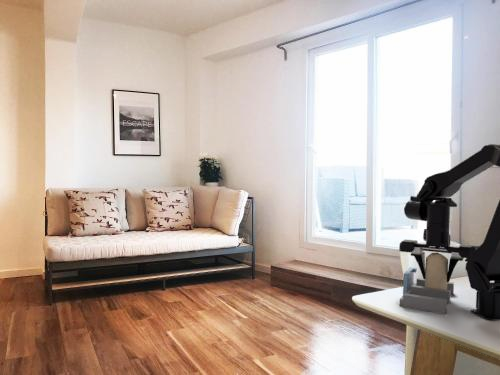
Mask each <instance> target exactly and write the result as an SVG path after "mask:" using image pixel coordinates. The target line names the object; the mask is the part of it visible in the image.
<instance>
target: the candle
mask: <svg viewBox="0 0 500 375" xmlns="http://www.w3.org/2000/svg"><path fill="white" fill-rule="evenodd" d="M425 268H426V272H425V287H430V288H438V289H445V290H447V275H448V269H449V259H448V257H446V256H445V255H443V253H440V252H431V253H430V254H428V255H426V256H425Z"/></svg>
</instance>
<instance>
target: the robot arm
mask: <svg viewBox="0 0 500 375" xmlns="http://www.w3.org/2000/svg"><path fill="white" fill-rule="evenodd" d="M493 166H496V167H499V168H500V144H495V143H494V144H492V143H490V144H489V143H488V144H486V145H483V147H482V148H481V149H480V150H478V151H477V152H475V153H474V154H472V155H470V156H469V157H468V158H465V159H463V161H461V162H460V163H458V164H457V165H455V166H453V167H452V168H450V169H449V170H446V171H442V172H438V173H433V175H430V176H427V177H426V178H425V179H424V183H423V184H422V186H421V188H420V190H419V191H418V193H417V194H416V195H410V198H409V200H408V201H407V202H406V203H405V206H404V208H403V212H404V215H405V217H406V218H407V219H409V220H415V221H421V222H426V228H424V229H423V236H422V237H423V238H422V239H423V241H425V243H418V240H413V239H403V240H401V242H399V246H398V247H399V249H398V251H399V252H401V253H402V252H403V253H410V256H411V257H414V259H415V260H416V263H417V264H418V267H419V269H420V270H419V271H420V273H421V276H422V278H423V279H425V272H426V252H431V253H441V254H445V253H447V254H450V255H451V256H450V257H449V258H450V259H449V261H448V275H447V282H451V278H452V275H453V272H454V270H455V267H456V266H457V264H458V262H463V261H464V262H466V263H465V271H466V274H467V279H468V281H469V282H468V283H469V286H470V288H471V289H473V290H475V291H476V293H475V294H476V296H475V298H476V299H475V308H471V309H470V312H471V313H473V314H475V315H477V316H479V317H481V318H484V319H486V320H489V321H500V199H499V200H498V203H497V206H496V208H495V211H494V213H493V215H492V216H493V217H492V218H491V220H490V225H489V226H488V229H487V232H486V234H485V237H484V240H483V242H482V244H480V245H475V244H474V245H473V244H472V245H471V244H463V243H462V244H460V245H459V246H451V234H450V232H451V231H450V229H451V227H450V226H451V224H450V223H451V208H457V207H458V204H457V203H456V202H455V201H454V200H453V199H452V198H451V197H453V196H454V195H455V194H457V192H459V191H460V190H461V187H462V185H464V184H465V183H467V182H469V181H470V180H471V179H473V178H475V177H476V176H478V175H480V174H481V173H483V172H485V171H487V170H488V169H490V168H491V167H493ZM464 259H465V260H464Z"/></svg>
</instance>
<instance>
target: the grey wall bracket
mask: <svg viewBox="0 0 500 375" xmlns="http://www.w3.org/2000/svg"><path fill="white" fill-rule="evenodd" d="M417 270H418V269H417V267H412V266H411V267H409V268H408V269H407V270H405V272H404V273H403V283H402V284H403V285H402V287H403V288H402V296H401V297H400V298H399V306H400V307H402V308H406V309H413V310H417V311H418V310H419V311H424V312H430V313H436V314H444V315H446V313H447V304H450V303H451V296H452V295H454V292H455V291H454V290H455V282H451V281H449V282H447V290H445V289H438V288H430V287H425V279H423V277H417V278H416V283H414V280H415V279H414V274H415V273H417V272H418V271H417ZM450 294H451V295H450Z"/></svg>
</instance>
